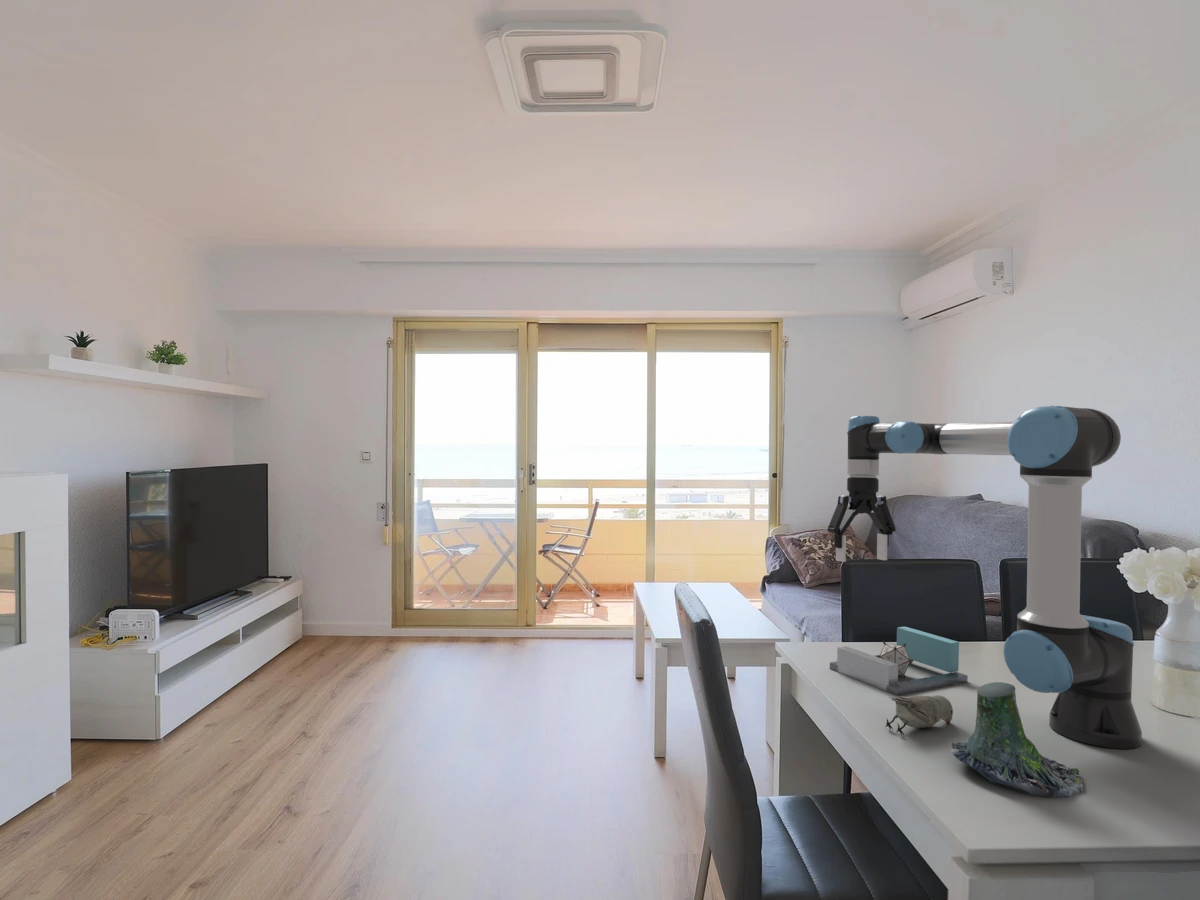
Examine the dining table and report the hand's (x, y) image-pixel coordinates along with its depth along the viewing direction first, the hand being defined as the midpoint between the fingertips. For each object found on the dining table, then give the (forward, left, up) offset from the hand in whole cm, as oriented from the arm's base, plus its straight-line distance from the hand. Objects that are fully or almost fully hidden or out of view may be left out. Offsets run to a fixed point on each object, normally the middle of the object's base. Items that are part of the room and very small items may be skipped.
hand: (861, 560), depth 179 cm
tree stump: (-54, +19, -28) cm, 64 cm away
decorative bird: (-33, +18, -28) cm, 47 cm away
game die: (-7, -4, -28) cm, 29 cm away
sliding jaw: (-7, -16, -26) cm, 31 cm away
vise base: (-7, -4, -28) cm, 29 cm away
